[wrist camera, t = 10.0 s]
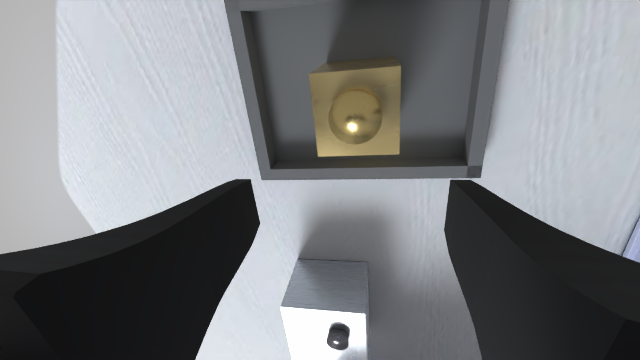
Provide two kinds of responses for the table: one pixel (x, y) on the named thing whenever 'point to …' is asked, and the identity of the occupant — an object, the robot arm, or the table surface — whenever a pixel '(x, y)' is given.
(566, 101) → the table surface
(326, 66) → the fitting block
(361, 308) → the box
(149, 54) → the table surface
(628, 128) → the table surface
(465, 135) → the parts tray
